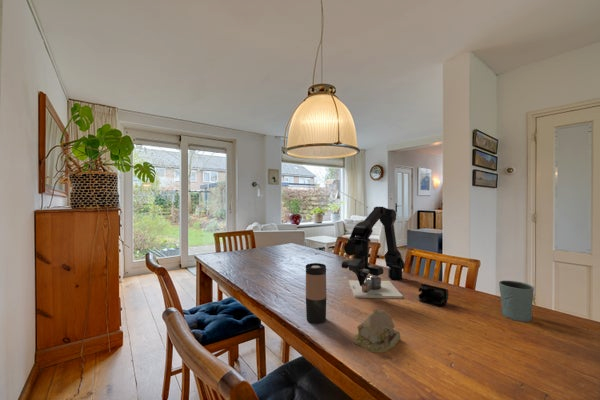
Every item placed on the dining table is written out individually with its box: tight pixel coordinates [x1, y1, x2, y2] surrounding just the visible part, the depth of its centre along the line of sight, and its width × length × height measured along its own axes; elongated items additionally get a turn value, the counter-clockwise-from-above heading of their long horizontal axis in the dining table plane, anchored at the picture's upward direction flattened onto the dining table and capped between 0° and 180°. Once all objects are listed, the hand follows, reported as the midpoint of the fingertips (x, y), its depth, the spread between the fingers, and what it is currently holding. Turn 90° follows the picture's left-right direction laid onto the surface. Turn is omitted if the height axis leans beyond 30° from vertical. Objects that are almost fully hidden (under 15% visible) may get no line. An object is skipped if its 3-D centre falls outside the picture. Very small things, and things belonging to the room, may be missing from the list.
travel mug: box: [305, 262, 327, 325], centre depth 96 cm, size 8×8×20 cm
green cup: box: [498, 280, 535, 323], centre depth 97 cm, size 10×10×12 cm
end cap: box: [418, 282, 449, 309], centre depth 111 cm, size 10×7×7 cm
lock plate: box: [348, 279, 404, 299], centre depth 126 cm, size 21×21×1 cm
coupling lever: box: [362, 274, 382, 293], centre depth 123 cm, size 16×7×5 cm, turn 146°
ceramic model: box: [352, 308, 401, 353], centre depth 81 cm, size 14×11×10 cm
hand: (361, 286), depth 119 cm, fingers closed
